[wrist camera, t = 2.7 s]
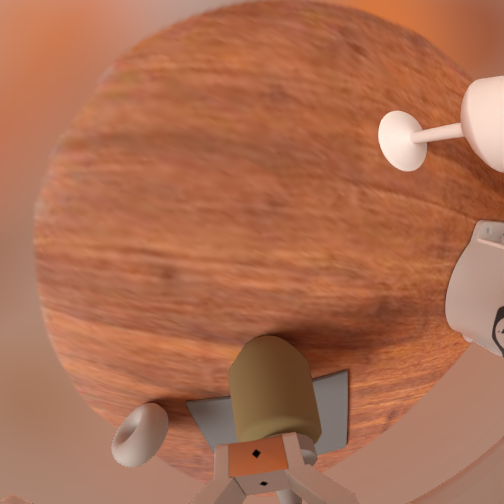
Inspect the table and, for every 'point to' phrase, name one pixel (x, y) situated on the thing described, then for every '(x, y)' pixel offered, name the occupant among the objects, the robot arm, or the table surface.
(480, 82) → the champagne flute
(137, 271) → the table surface
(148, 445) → the donut
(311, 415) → the squeeze bottle
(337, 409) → the mat
